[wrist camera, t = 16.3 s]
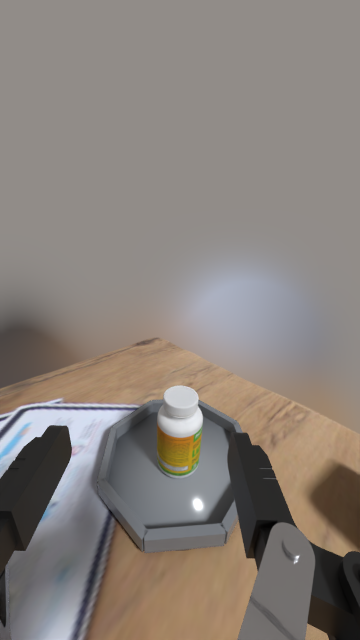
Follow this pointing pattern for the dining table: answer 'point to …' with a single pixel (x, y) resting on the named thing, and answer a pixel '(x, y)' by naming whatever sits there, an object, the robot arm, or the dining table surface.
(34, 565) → the dining table surface
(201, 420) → the supplement bottle
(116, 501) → the dish
